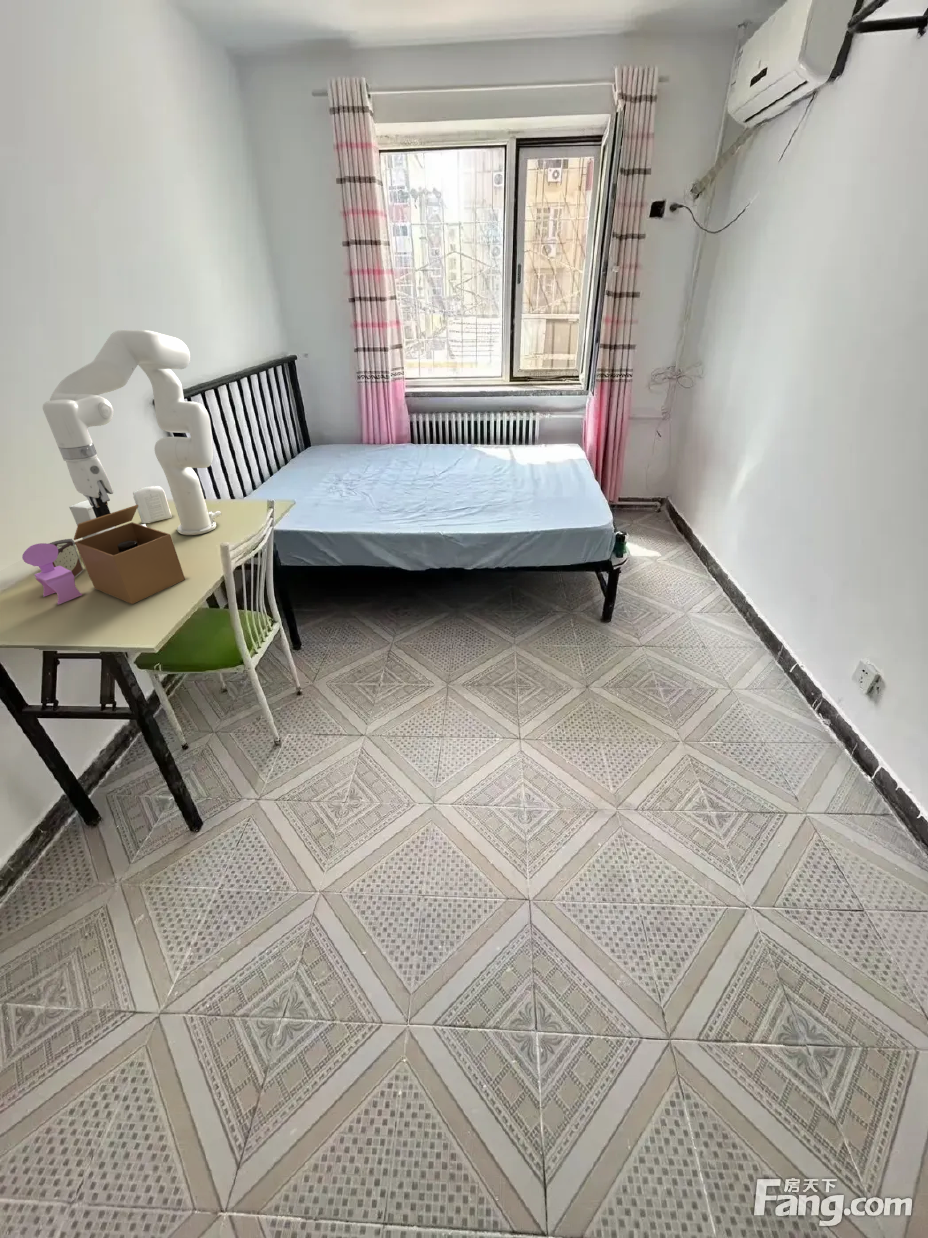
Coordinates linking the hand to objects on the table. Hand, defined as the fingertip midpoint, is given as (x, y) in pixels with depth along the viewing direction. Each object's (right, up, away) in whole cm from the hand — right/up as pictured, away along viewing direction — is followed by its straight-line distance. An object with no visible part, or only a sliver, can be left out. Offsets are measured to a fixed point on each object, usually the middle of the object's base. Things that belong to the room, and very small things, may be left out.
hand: (104, 519), depth 143 cm
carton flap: (0, -1, 0) cm, 1 cm away
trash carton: (+5, -17, +8) cm, 20 cm away
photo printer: (-14, +9, +49) cm, 52 cm away
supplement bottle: (+5, -17, +8) cm, 19 cm away
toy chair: (-13, -21, +2) cm, 25 cm away
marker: (-13, +1, +37) cm, 39 cm away
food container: (-19, -16, +11) cm, 27 cm away
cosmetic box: (-19, -4, +28) cm, 34 cm away
